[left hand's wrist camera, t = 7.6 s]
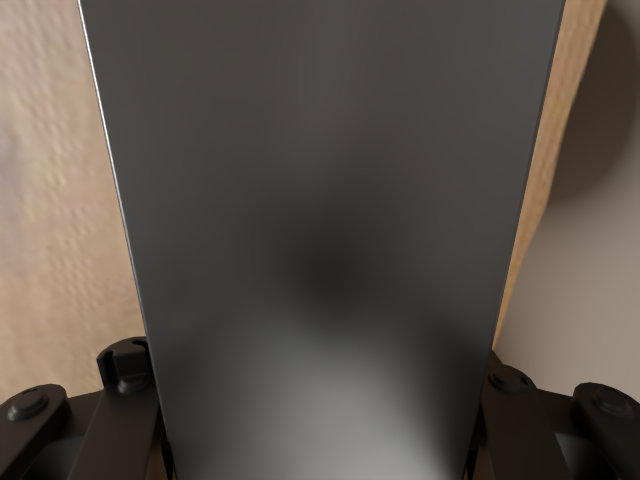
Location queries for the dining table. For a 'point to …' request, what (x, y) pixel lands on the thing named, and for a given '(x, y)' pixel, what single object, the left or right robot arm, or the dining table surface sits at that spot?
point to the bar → (320, 219)
